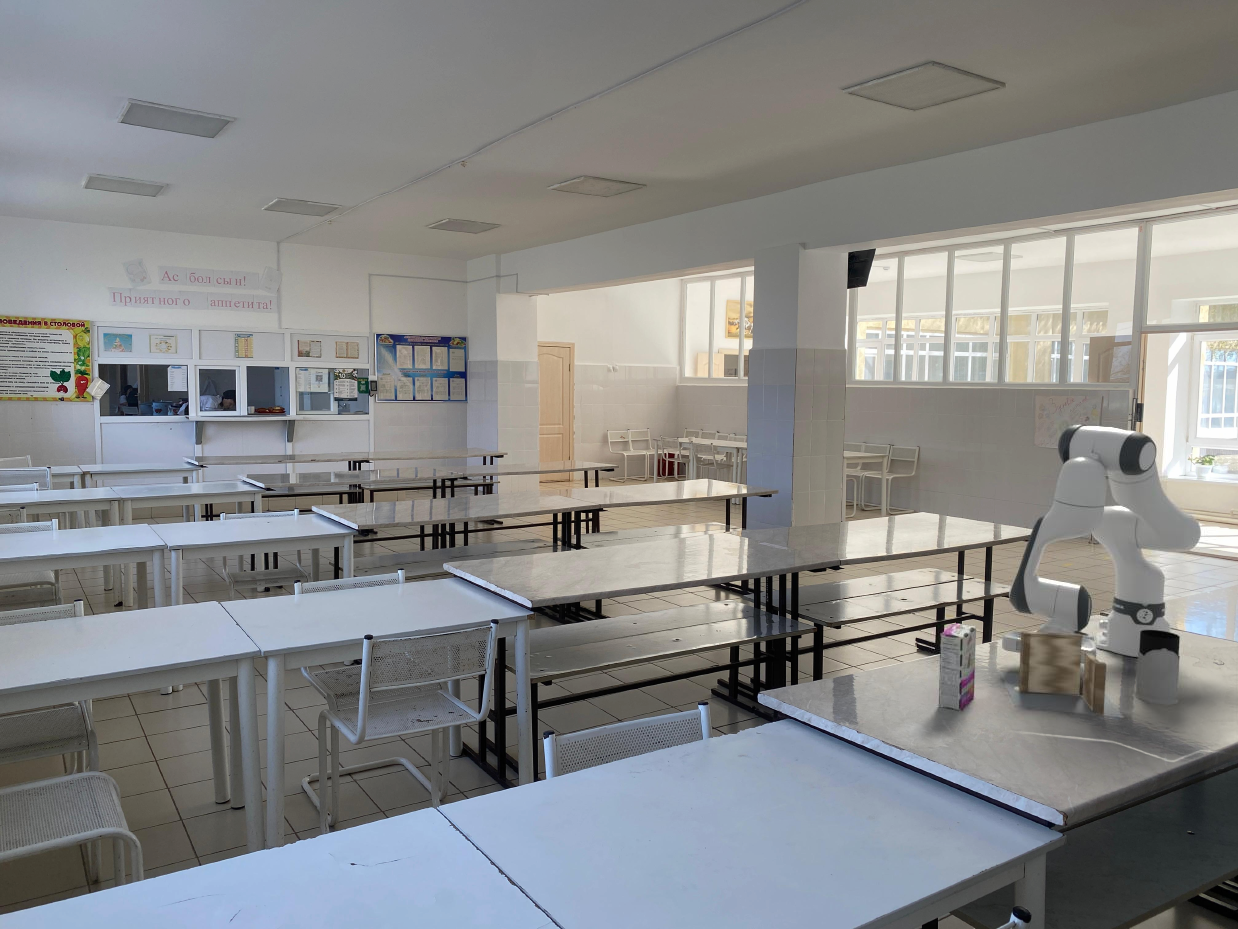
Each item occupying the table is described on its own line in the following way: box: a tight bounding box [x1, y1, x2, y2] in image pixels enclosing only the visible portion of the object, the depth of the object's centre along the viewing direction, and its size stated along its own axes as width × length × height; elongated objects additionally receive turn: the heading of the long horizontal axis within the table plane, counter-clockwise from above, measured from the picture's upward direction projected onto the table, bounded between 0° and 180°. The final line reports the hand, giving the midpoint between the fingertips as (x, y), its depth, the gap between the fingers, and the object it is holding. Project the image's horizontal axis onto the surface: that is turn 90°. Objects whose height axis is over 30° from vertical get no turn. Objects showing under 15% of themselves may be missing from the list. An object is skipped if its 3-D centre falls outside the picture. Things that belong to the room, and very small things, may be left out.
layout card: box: [999, 671, 1125, 719], centre depth 192 cm, size 25×21×1 cm
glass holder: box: [1133, 630, 1181, 706], centre depth 192 cm, size 9×14×15 cm, turn 161°
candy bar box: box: [938, 623, 977, 712], centre depth 186 cm, size 11×5×16 cm, turn 143°
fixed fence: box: [1080, 653, 1107, 714], centre depth 185 cm, size 13×2×11 cm, turn 165°
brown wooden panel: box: [1018, 630, 1082, 695], centre depth 192 cm, size 12×2×14 cm, turn 83°
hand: (1042, 655), depth 196 cm, fingers closed
